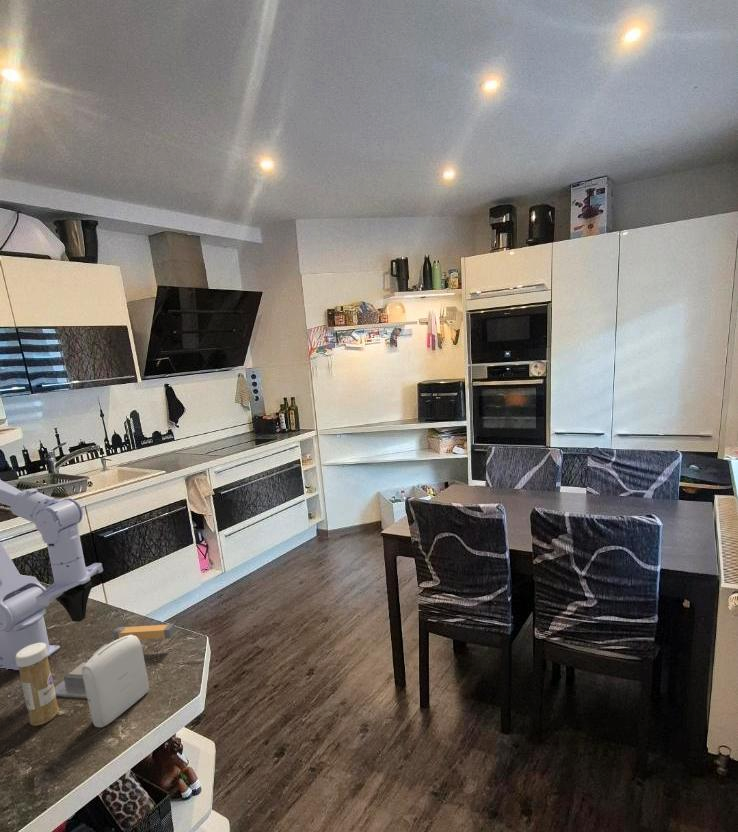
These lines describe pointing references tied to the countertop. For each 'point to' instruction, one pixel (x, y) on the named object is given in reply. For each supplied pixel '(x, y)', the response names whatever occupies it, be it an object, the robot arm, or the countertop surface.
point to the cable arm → (146, 631)
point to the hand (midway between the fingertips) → (78, 619)
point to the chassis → (75, 681)
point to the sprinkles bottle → (37, 683)
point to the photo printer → (115, 679)
